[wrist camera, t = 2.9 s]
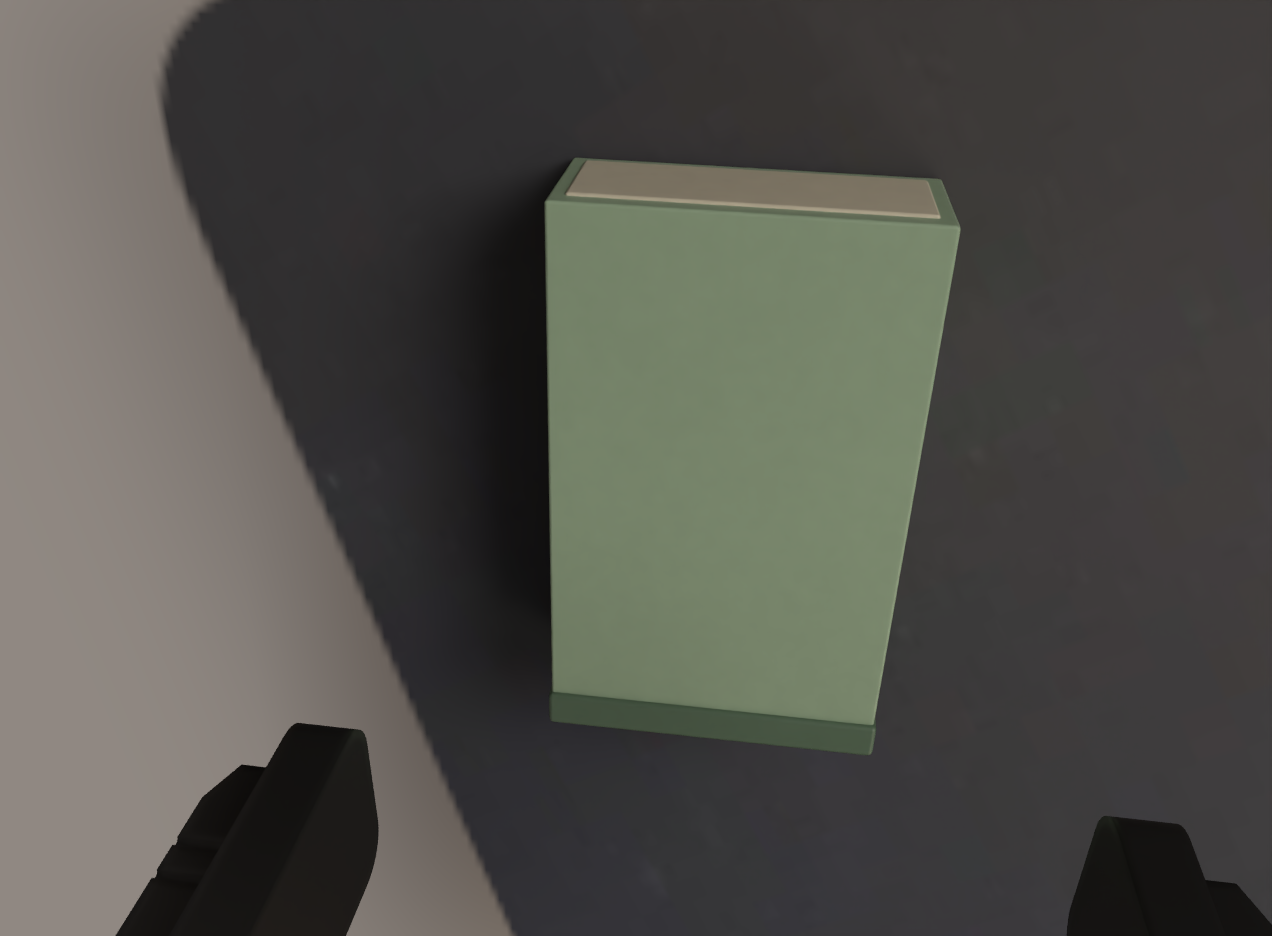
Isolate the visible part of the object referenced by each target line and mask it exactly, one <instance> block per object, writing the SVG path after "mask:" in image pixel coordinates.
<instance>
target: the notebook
mask: <svg viewBox="0 0 1272 936" xmlns="http://www.w3.org/2000/svg"><path fill="white" fill-rule="evenodd" d="M544 207H545V270H546V332H547V395H548V457H549V520H550V583H551V645H552V687H551V690H550V694H549V717H550V720H551V721H553V722H562V723H572V724H581V725H590V726H599V727H609V728H618V729H627V730H637V731H646V732H655V733H665V734H674V735H683V736H692V737H702V738H711V739H720V740H730V741H739V742H748V743H757V744H767V745H776V746H785V747H795V748H804V749H813V750H823V751H832V752H841V753H850V754H860V755H870V754H871V753H872V750H873V745H874V739H875V734H876V722H875V714H876V708H877V702H878V697H879V691H880V685H881V680H882V674H883V668H884V662H885V657H886V651H887V645H888V640H889V634H890V628H891V623H892V617H893V611H894V605H895V600H896V594H897V588H898V583H899V577H900V571H901V566H902V560H903V554H904V549H905V543H906V537H907V531H908V526H909V520H910V514H911V509H912V503H913V497H914V492H915V486H916V480H917V474H918V469H919V463H920V457H921V452H922V446H923V440H924V435H925V429H926V423H927V417H928V412H929V406H930V400H931V395H932V389H933V383H934V378H935V372H936V366H937V361H938V355H939V349H940V343H941V338H942V332H943V326H944V321H945V315H946V309H947V304H948V298H949V292H950V286H951V281H952V275H953V269H954V264H955V258H956V252H957V247H958V241H959V235H960V225H959V223H958V220H957V218H956V215H955V213H954V210H953V208H952V205H951V203H950V200H949V198H948V196H947V193H946V191H945V188H944V186H943V183H942V181H941V180H940V179H930V178H913V177H896V176H878V175H861V174H844V173H827V172H810V171H793V170H776V169H759V168H742V167H725V166H708V165H691V164H674V163H657V162H639V161H622V160H605V159H588V158H574V159H573V160H572V162H571V163H570V165H569V166H568V168H567V169H566V171H565V172H564V174H563V175H562V177H561V178H560V180H559V181H558V183H557V184H556V186H555V187H554V188H553V190H552V191H551V193H550V194H549V196H548V197H547V199H546V200H545V203H544Z"/></svg>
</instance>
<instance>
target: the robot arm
mask: <svg viewBox="0 0 1272 936" xmlns="http://www.w3.org/2000/svg"><path fill="white" fill-rule="evenodd" d="M377 845H378V818H377V810H376V803H375V797H374V789H373V782H372V775H371V768H370V761H369V753H368V746H367V741H366V737H365V734H364V733H363V731H361V730H356V729H348V728H338V727H330V726H321V725H312V724H302V723H296V724H294V725H293V726H291V728H290V729H289V730H288V731H287V733H286V734H285V736H284V737H283V739H282V741H281V743H280V744H279V746H278V748H277V749H276V751H275V753H274V755H273V757H272V758H271V760H270V762H269V763H268V765H267V767H257V766H249V765H241V766H239V767H238V768H237V769H236V770H235V771H234V772H232V773H231V774H230V775H229V776H227V777H226V778H225V779H224V780H223V781H221V782H220V783H219V784H218V785H216V786H215V787H214V788H213V789H212V790H210V791H209V792H208V793H207V794H206V795H204V796H203V797H202V799H201V800H200V802H199V803H198V805H197V807H196V808H195V810H194V811H193V813H192V815H191V816H190V818H189V819H188V821H187V823H186V824H185V826H184V827H183V829H182V830H181V832H180V834H179V835H178V840H177V843H176V845H172V847H171V848H170V850H169V851H168V853H167V854H166V856H165V858H164V859H163V861H162V862H161V864H160V866H159V867H158V869H157V875H156V877H155V878H152V879H151V880H150V882H149V883H148V885H147V886H146V888H145V890H144V891H143V893H142V894H141V896H140V898H139V899H138V901H137V902H136V904H135V906H134V907H133V909H132V911H131V912H130V914H129V915H128V917H127V918H126V920H125V922H124V923H123V925H122V926H121V928H120V930H119V931H118V933H117V934H116V936H346V934H347V932H348V930H349V927H350V925H351V922H352V920H353V918H354V915H355V913H356V910H357V908H358V906H359V903H360V901H361V899H362V896H363V894H364V891H365V889H366V887H367V884H368V881H369V879H370V876H371V873H372V869H373V866H374V862H375V857H376V851H377ZM1067 936H1272V925H1271V923H1270V922H1269V921H1268V920H1267V919H1266V918H1265V916H1264V915H1263V914H1262V913H1261V912H1260V911H1259V909H1258V908H1257V907H1256V906H1255V905H1254V904H1253V902H1252V901H1251V900H1250V899H1249V898H1248V897H1247V896H1246V894H1245V893H1244V892H1243V891H1242V890H1241V889H1240V887H1239V886H1238V885H1237V884H1234V883H1226V882H1217V881H1209V880H1205V878H1204V875H1203V873H1202V870H1201V867H1200V865H1199V862H1198V859H1197V857H1196V854H1195V851H1194V849H1193V846H1192V843H1191V841H1190V838H1189V836H1188V834H1187V832H1186V831H1185V829H1184V828H1183V827H1182V826H1181V825H1179V824H1173V823H1164V822H1155V821H1146V820H1137V819H1128V818H1120V817H1111V816H1104V817H1102V818H1101V819H1100V820H1099V822H1098V824H1097V827H1096V829H1095V832H1094V836H1093V839H1092V842H1091V845H1090V848H1089V851H1088V854H1087V858H1086V861H1085V864H1084V867H1083V870H1082V873H1081V877H1080V880H1079V883H1078V886H1077V889H1076V892H1075V895H1074V899H1073V902H1072V905H1071V908H1070V912H1069V918H1068V926H1067Z"/></svg>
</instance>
